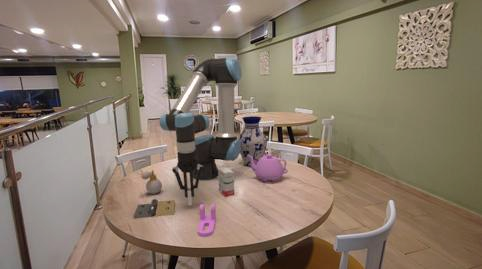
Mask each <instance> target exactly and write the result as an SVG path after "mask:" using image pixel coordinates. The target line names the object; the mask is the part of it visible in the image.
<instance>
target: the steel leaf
mask: <svg viewBox="0 0 482 269" xmlns="http://www.w3.org/2000/svg"><path fill="white" fill-rule="evenodd" d="M158 202H159V200H158V199H152V200H151V203H144V204H143V203H142V204H138V205H137V207H136V209H135V212H134V213H133V216H132V217H133V219H140V218H141V219H142V218H151V217H153V216H156V209H157V205H158Z"/></svg>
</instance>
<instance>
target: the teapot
mask: <svg viewBox="0 0 482 269" xmlns="http://www.w3.org/2000/svg"><path fill="white" fill-rule="evenodd" d="M247 156H248V157H249V158H250V161H251V167H250V168H251V170H252V171H253V172H254V174H255V175H256V177H257V178H259V179H260V183H264V182H266V181H272V183H278V182H279V181H278V180H279V179H281V178H282V176H283V175H284V174H285V175H286V174H288V172H289V170H288V168H286V167H287V160H286V159H285V158H278V157H277V156H275V155H272V153H267V154H265V155H264V156H263V157H261V158H260V159H259V161H258V162H257V164H256V165H255V164H254V161H253V157H252V156H250V155H247ZM281 161H282V162H284V163H283V164H282V162H281Z"/></svg>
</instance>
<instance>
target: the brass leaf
mask: <svg viewBox="0 0 482 269" xmlns="http://www.w3.org/2000/svg"><path fill="white" fill-rule="evenodd" d="M175 208H176V199H169V200H158V205H157V208H156V212H155V217H157V218H158V217H165V216H174V215H175Z"/></svg>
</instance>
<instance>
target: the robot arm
mask: <svg viewBox="0 0 482 269" xmlns="http://www.w3.org/2000/svg"><path fill="white" fill-rule="evenodd" d="M242 75H243V74H242V68H241V64H240V61H238V59H237V58H235V57H220V58H219V57H218V58H208V59H205V60H203V61H202V62H201V63H199V64H198V65H196V67H195V68H194V69H193V71H192V72H191V74H190V76H189V77H190V78H189V80H188V82H187V84H186V85H185V87H184V89H183V90H182V92H181V94H180V95H179V97H178V98H177V100H176V101H175V103H174V105H173V107H172V108H171V110H170V112H169V113H166V114H165V113H164V114H162V115H161V116H160V118H159V126H160V128H161V129H162V130H163V131H168V132H175V136H176V137H175V138H176V140H175V141H176V151H177V163H176V165H175V166H174V167H172V169H171V172H173V174H174V176H175V179H176V181H177V183H178V187H179V190H182V191H184V198H187V203H188V204H187V205H188V206H192V205H193V198H194V197H195V189H198V188H199V184H200V183H199V182H200V181H209V180H213V179H217V178H219V177H218V166H217V164H216V160H217V161H218V160H221V161H227V162H230V161H236V160H237V159H238V158H239V156H240V155H241V154H240V150H241V142H240V140H239V139H238V135H237V134H236V133H235V88H236V86H238V82H239V81H240V80H241V79H242ZM210 82H214V83H215V86H216V87H217V90H218V91H217V93H218V94H217V96H218V97H217V98H218V99H217V102H218V103H217V104H218V106H217V108H218V109H217V110H218V113H217V114H218V115H217V116H218V117H217V118H218V119H217V121H218V123H217V124H218V126H217V128H218V132H217V133H216V135H214V134H204V135H199V136H196V134H198V133H202V132H204V131H206V130H208V129H209V127H210V124H211V122H210V118H209V117H208V115H206V114H204V113H203V114H202V113H201V114H199V113H198V114H193V113H191V112H190V111H191V109H192V107H193V106H194V104H195V102H196V100H197V99H198V98H199V96H200V94H201V92H202V90H203V88H204V87H206V86H207V85H208V83H210ZM179 170H180V171H181V172H182V175H183V181H182V179H181V176H180V173H179ZM188 173H189V184H190V188H188V177H187V176H188V175H187V174H188ZM194 180H195V183H194Z"/></svg>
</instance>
